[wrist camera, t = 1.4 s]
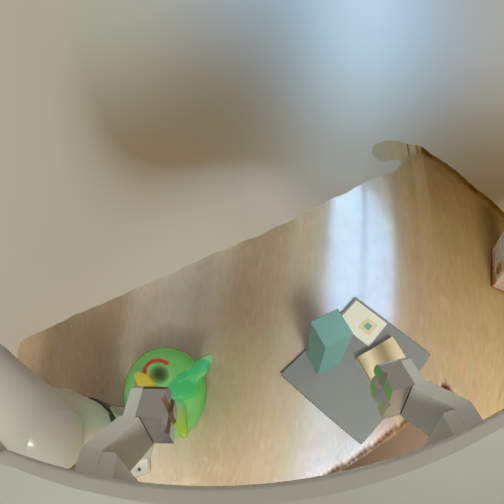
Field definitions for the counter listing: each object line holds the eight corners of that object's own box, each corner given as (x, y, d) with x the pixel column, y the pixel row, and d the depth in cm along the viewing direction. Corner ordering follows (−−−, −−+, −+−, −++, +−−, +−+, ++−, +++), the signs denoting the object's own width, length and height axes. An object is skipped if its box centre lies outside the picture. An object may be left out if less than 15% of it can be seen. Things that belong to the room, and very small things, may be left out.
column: (317, 374, 57) (325, 347, 44) (306, 354, 60) (310, 321, 47) (339, 363, 57) (353, 333, 45) (327, 344, 60) (337, 308, 48)
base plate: (360, 443, 47) (364, 443, 45) (281, 375, 59) (280, 371, 56) (428, 356, 56) (433, 351, 53) (355, 299, 67) (357, 293, 65)
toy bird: (155, 355, 64) (126, 327, 53) (227, 369, 61) (211, 344, 49) (133, 428, 53) (96, 416, 42) (208, 450, 50) (184, 447, 38)
